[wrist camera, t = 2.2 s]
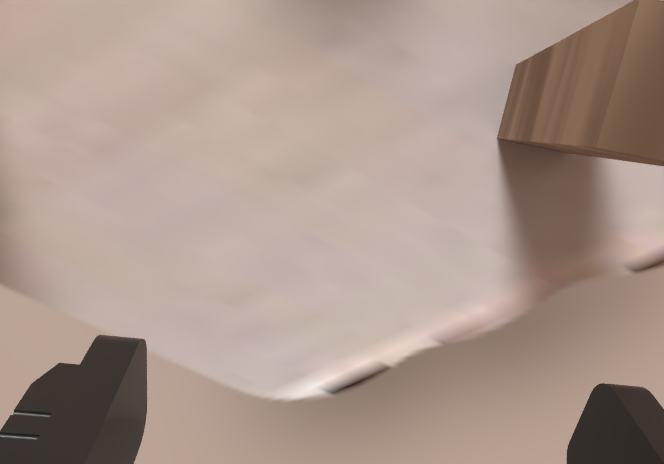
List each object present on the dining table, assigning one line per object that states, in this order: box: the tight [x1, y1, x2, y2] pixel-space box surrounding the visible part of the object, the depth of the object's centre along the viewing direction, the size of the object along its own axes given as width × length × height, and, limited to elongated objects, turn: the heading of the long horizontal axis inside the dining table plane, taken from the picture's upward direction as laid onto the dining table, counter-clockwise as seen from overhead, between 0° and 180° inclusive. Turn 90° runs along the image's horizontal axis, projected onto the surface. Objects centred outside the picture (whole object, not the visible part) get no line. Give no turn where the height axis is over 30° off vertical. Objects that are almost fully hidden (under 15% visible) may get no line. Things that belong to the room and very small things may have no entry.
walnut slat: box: [497, 0, 664, 166], centre depth 23 cm, size 4×4×16 cm
